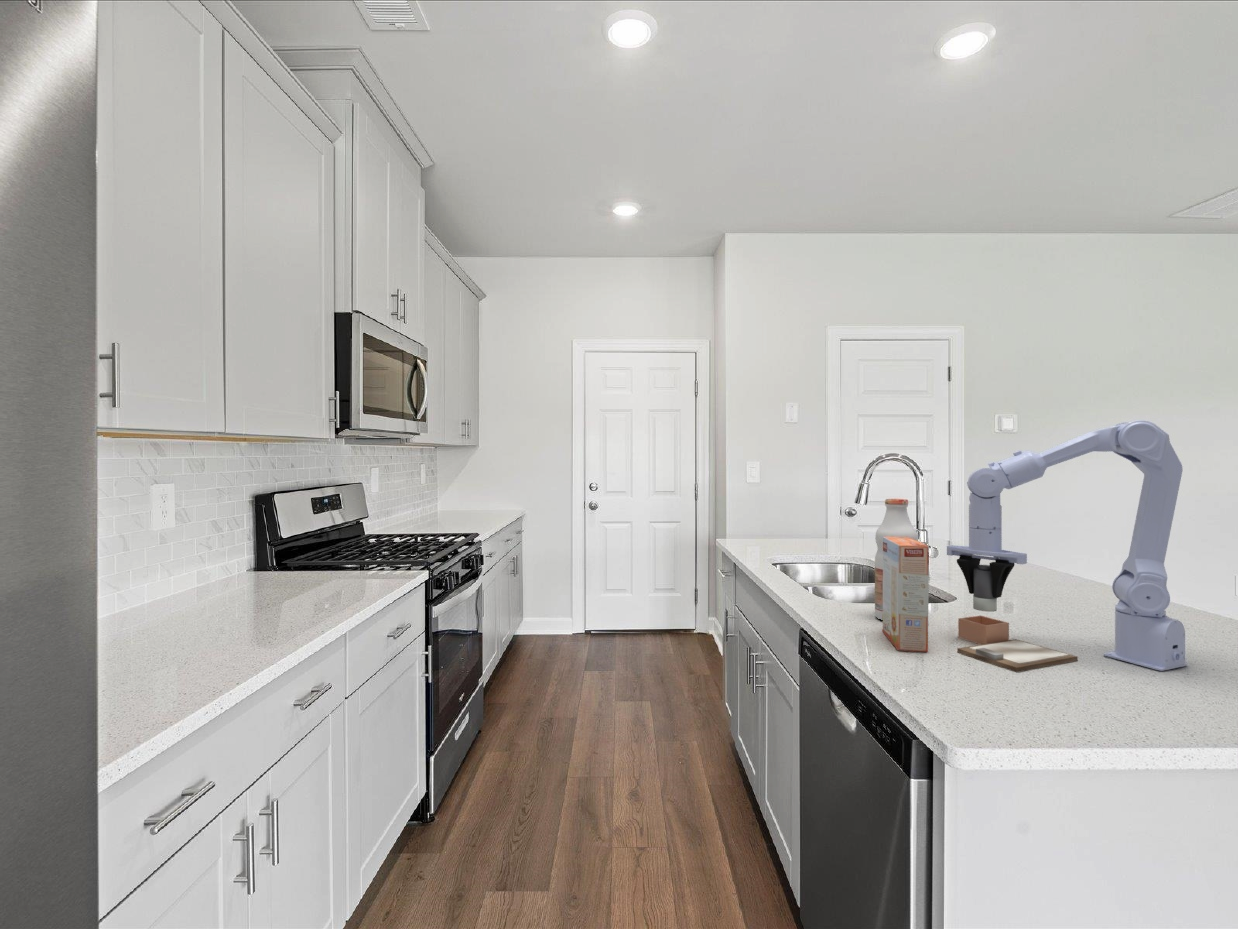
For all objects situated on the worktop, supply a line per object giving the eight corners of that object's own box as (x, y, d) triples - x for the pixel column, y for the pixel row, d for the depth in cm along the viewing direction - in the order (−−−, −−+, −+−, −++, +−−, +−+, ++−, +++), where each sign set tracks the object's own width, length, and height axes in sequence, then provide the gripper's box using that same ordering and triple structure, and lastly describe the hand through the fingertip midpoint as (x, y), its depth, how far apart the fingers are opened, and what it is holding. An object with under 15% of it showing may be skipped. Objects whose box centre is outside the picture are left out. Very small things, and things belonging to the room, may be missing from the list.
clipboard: (1077, 660, 115) (1077, 651, 115) (1016, 672, 109) (1016, 662, 109) (1015, 643, 126) (1015, 634, 126) (957, 652, 120) (957, 643, 120)
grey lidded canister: (1000, 609, 125) (1000, 566, 125) (990, 612, 123) (990, 568, 123) (979, 605, 129) (979, 563, 129) (969, 608, 126) (969, 565, 126)
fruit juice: (892, 612, 151) (892, 497, 151) (928, 621, 143) (928, 499, 142) (865, 617, 147) (865, 498, 146) (900, 627, 138) (900, 501, 138)
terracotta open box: (1008, 642, 127) (1008, 622, 127) (986, 646, 124) (986, 626, 124) (980, 634, 133) (980, 615, 133) (958, 637, 130) (958, 618, 130)
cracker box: (930, 653, 120) (930, 545, 120) (897, 652, 121) (896, 544, 121) (911, 633, 134) (911, 536, 133) (881, 632, 135) (881, 535, 135)
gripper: (1034, 529, 122) (1033, 599, 122) (958, 523, 134) (958, 586, 134) (1017, 532, 118) (1017, 604, 118) (941, 525, 130) (941, 590, 130)
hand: (985, 595), depth 126 cm, fingers closed on grey lidded canister, 4 cm apart
